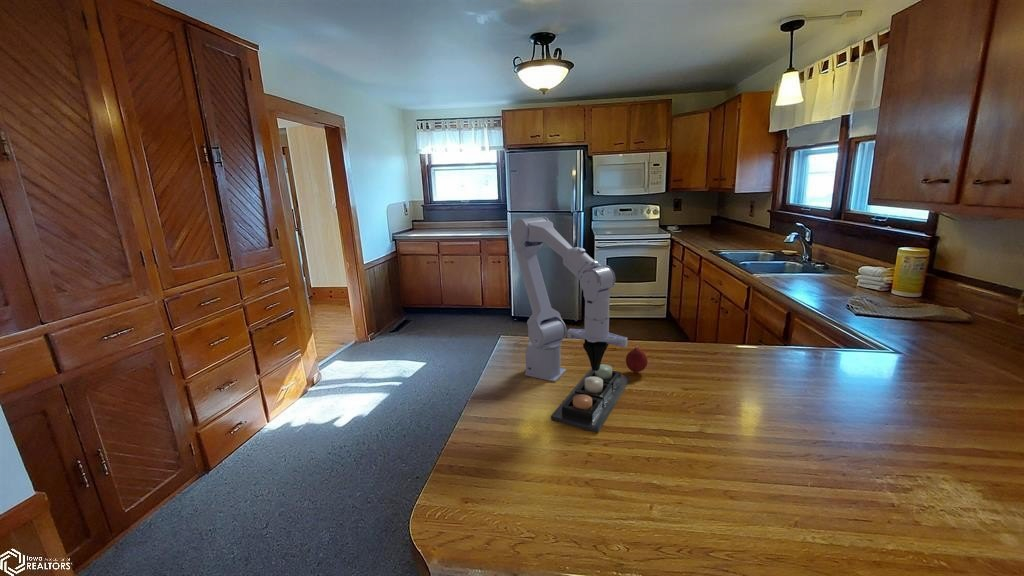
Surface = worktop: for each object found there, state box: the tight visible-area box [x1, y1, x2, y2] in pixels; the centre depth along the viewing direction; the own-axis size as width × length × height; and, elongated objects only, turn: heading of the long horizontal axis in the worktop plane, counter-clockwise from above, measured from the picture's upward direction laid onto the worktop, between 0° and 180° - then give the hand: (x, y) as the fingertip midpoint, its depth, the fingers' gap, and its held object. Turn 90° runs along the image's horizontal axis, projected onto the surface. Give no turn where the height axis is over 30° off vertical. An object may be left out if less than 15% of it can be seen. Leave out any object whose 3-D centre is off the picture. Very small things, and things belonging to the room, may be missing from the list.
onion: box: [625, 345, 649, 374], centre depth 114 cm, size 6×6×8 cm
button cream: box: [585, 377, 603, 394], centre depth 101 cm, size 4×4×2 cm
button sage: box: [595, 363, 613, 380], centre depth 108 cm, size 4×4×2 cm
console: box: [550, 368, 631, 434], centre depth 102 cm, size 11×27×3 cm, turn 151°
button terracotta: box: [573, 394, 592, 411], centre depth 95 cm, size 4×4×2 cm
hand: (595, 369), depth 102 cm, fingers closed
